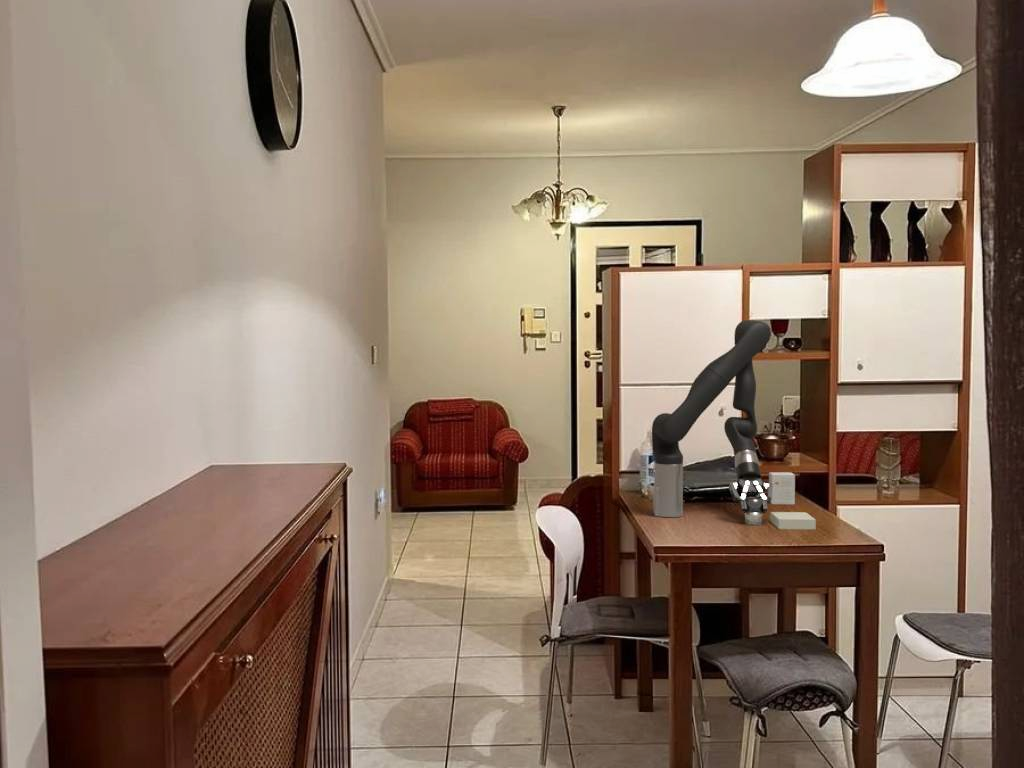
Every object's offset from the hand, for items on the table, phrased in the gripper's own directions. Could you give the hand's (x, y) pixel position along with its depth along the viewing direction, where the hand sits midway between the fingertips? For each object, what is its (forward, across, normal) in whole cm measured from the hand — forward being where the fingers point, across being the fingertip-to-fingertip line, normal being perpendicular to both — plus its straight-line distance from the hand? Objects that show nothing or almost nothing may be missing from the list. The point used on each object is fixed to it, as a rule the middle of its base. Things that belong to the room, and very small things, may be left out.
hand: (755, 511), depth 281 cm
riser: (+3, +12, +3) cm, 12 cm away
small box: (-23, +17, +29) cm, 40 cm away
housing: (+2, 0, +4) cm, 5 cm away
